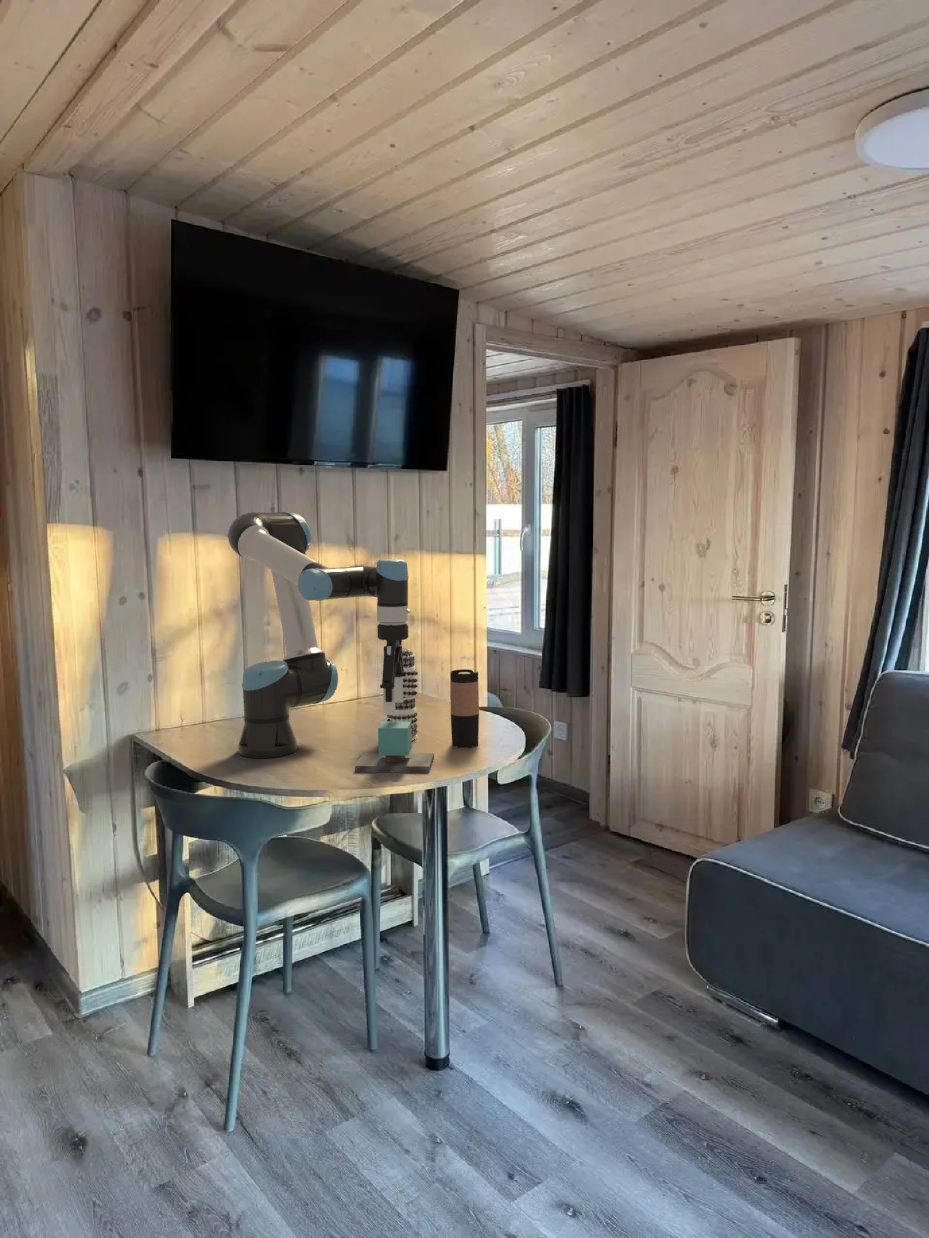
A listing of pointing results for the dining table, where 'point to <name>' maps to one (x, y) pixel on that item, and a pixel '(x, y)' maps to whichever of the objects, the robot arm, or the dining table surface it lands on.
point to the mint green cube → (395, 738)
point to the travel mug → (464, 708)
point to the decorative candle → (407, 694)
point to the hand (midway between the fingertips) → (393, 708)
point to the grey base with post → (395, 763)
